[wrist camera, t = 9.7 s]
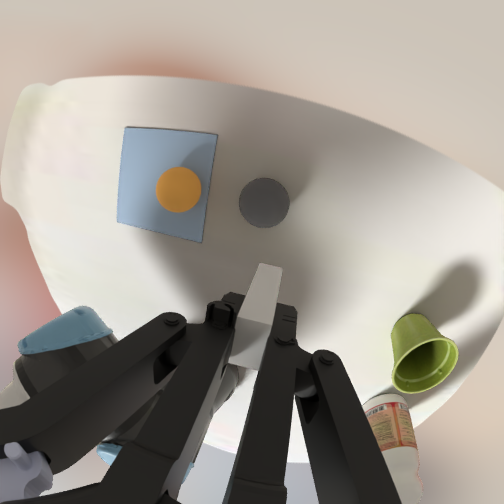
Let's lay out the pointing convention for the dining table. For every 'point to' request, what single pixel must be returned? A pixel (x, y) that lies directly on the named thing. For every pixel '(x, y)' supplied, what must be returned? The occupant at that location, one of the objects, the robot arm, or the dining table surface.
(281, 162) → the dining table surface
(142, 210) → the mark
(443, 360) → the plant pot
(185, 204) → the ball
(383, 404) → the fruit juice
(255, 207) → the ball
